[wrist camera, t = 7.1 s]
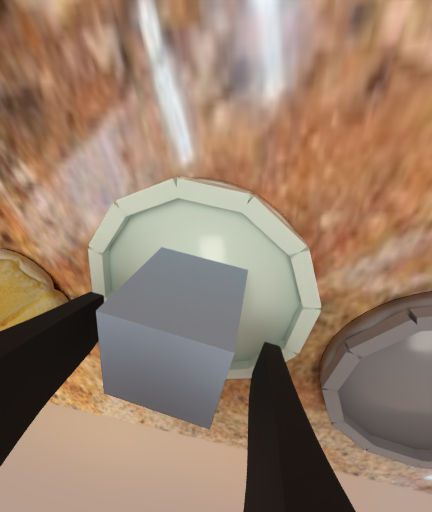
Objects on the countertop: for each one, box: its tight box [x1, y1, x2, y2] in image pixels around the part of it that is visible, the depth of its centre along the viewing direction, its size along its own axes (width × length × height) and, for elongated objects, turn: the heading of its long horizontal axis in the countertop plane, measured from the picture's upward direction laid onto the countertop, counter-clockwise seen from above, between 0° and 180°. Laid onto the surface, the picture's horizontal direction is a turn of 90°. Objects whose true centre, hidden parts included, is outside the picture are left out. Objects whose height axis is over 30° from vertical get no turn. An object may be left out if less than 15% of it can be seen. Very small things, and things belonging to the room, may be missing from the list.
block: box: [96, 247, 248, 429], centre depth 10 cm, size 4×4×5 cm
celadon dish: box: [88, 176, 322, 379], centre depth 13 cm, size 12×12×2 cm
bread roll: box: [0, 248, 69, 331], centre depth 16 cm, size 8×9×4 cm
